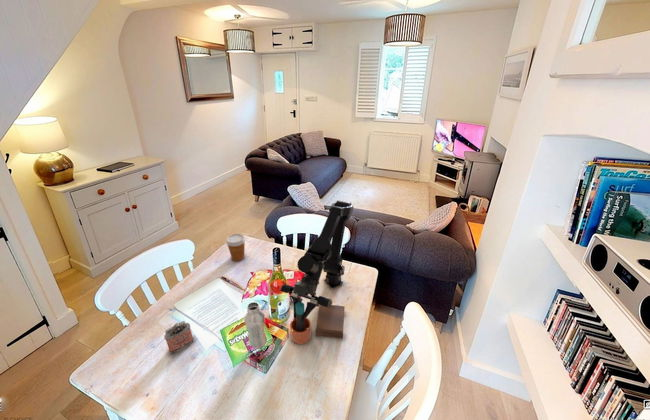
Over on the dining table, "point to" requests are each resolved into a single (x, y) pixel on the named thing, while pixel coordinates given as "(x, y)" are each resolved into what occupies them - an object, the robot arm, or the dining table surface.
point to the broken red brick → (178, 337)
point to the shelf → (330, 321)
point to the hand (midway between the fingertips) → (298, 320)
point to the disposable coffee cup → (236, 246)
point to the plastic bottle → (255, 325)
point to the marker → (300, 316)
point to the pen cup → (300, 336)
